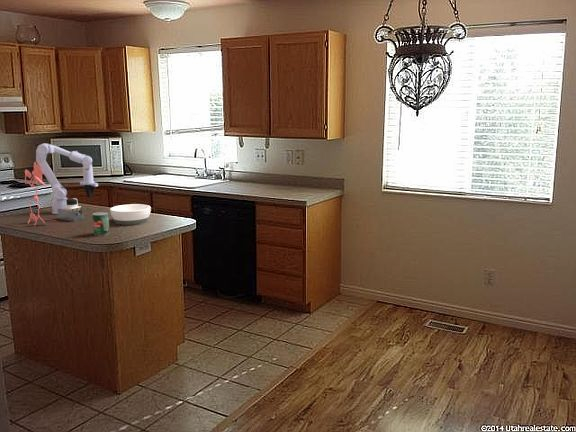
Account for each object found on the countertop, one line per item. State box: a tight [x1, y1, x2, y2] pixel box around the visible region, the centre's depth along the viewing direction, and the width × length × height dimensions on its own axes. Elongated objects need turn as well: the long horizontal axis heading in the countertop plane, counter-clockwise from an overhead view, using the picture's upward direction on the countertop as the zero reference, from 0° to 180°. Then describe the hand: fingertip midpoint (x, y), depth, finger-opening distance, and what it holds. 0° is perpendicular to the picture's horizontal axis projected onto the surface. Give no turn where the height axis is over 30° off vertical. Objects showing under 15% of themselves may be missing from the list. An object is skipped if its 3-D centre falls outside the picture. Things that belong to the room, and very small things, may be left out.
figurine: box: [24, 161, 56, 227], centre depth 302 cm, size 15×26×35 cm, turn 47°
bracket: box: [57, 209, 86, 223], centre depth 314 cm, size 14×9×6 cm, turn 60°
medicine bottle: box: [64, 198, 83, 216], centre depth 315 cm, size 7×7×12 cm
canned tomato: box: [91, 211, 111, 237], centre depth 278 cm, size 8×8×11 cm
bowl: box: [109, 203, 152, 226], centre depth 307 cm, size 22×22×8 cm
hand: (90, 197), depth 334 cm, fingers closed
